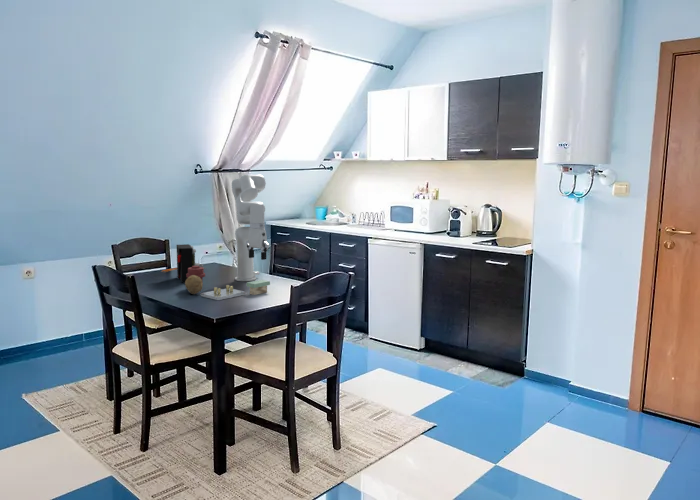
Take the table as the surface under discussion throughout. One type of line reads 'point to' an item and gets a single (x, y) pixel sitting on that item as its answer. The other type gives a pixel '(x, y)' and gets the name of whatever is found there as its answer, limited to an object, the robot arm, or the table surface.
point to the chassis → (223, 293)
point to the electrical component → (184, 260)
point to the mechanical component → (196, 272)
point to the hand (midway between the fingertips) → (257, 258)
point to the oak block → (258, 290)
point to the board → (258, 283)
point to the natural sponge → (193, 284)
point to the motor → (195, 265)
